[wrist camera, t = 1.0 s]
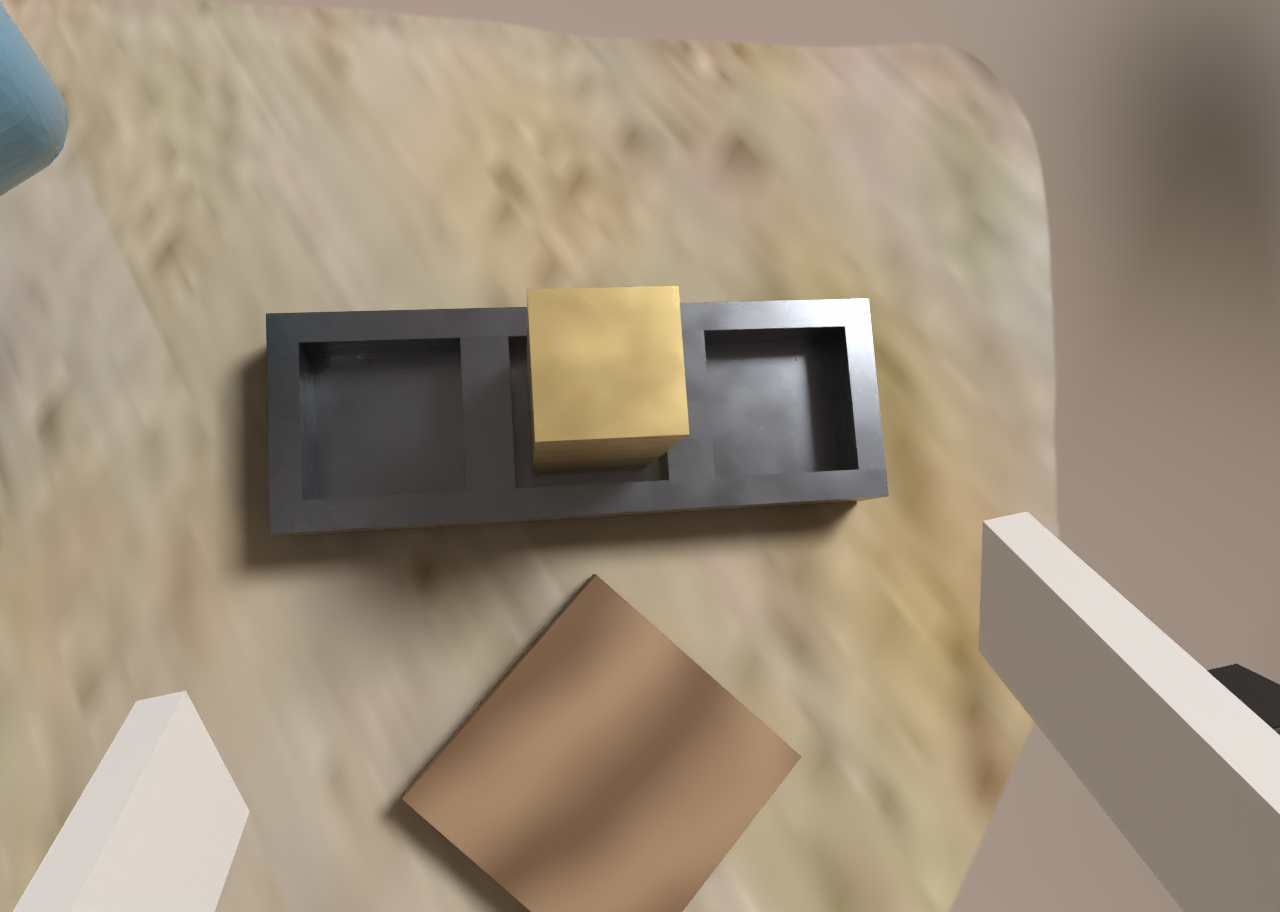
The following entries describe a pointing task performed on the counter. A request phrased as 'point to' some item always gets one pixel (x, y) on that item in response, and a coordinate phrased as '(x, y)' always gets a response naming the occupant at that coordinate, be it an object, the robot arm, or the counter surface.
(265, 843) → the counter surface
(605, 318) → the golden rectangular block
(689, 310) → the compartment tray
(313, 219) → the counter surface
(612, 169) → the counter surface
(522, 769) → the coaster
